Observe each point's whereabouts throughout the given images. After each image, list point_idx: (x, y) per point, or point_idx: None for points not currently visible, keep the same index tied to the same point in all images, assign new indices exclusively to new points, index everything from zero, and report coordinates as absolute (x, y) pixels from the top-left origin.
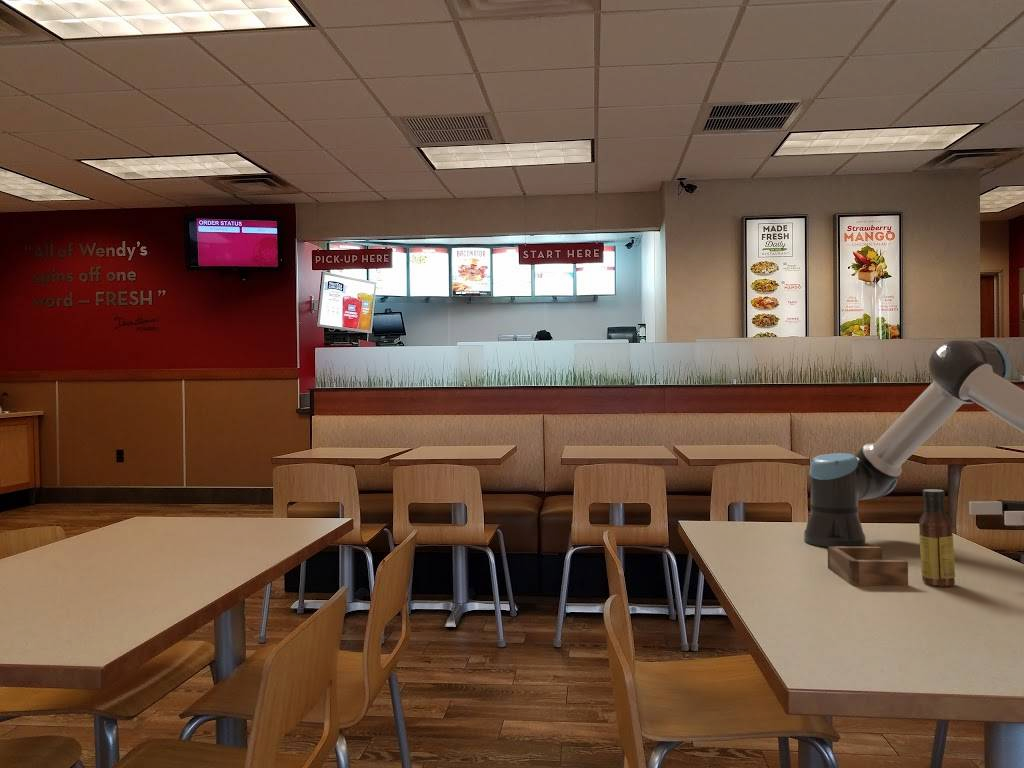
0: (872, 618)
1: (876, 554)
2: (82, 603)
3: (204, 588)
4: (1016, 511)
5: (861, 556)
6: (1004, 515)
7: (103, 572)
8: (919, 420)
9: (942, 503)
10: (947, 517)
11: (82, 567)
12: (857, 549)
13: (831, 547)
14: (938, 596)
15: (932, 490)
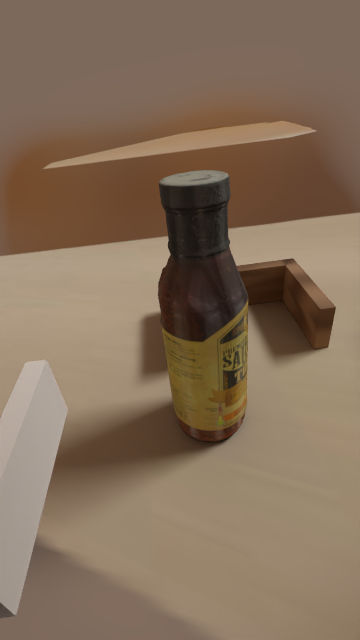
0: (17, 312)
1: (313, 314)
2: (117, 151)
3: (140, 154)
4: (18, 407)
5: (300, 302)
6: (51, 376)
7: (164, 142)
8: None
9: (172, 230)
10: (182, 283)
11: (172, 139)
12: (299, 286)
13: (284, 261)
14: (109, 393)
15: (188, 176)
